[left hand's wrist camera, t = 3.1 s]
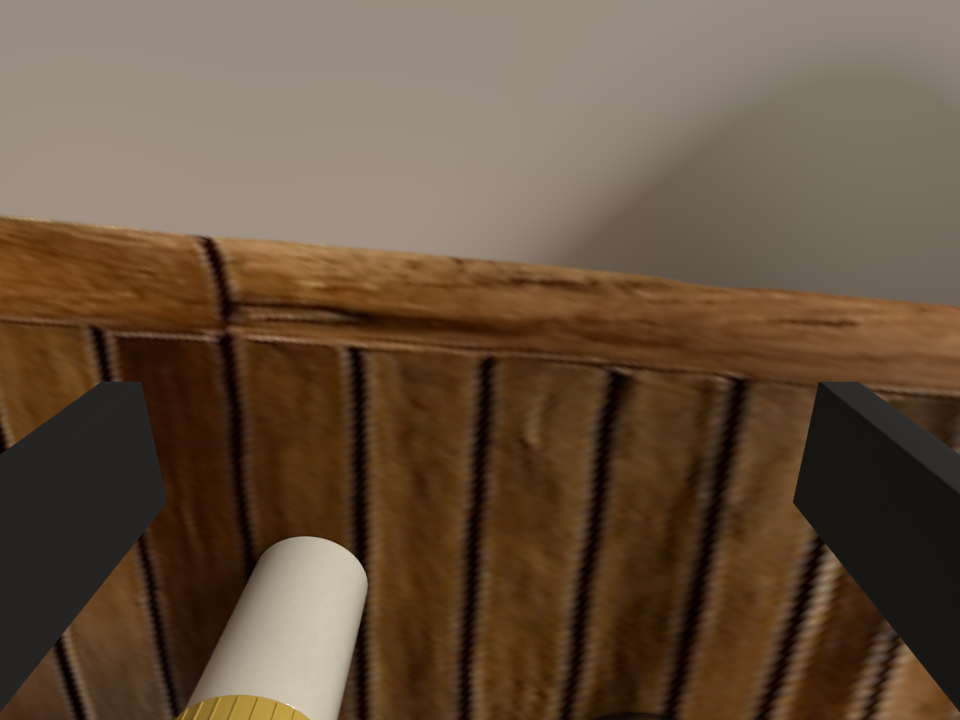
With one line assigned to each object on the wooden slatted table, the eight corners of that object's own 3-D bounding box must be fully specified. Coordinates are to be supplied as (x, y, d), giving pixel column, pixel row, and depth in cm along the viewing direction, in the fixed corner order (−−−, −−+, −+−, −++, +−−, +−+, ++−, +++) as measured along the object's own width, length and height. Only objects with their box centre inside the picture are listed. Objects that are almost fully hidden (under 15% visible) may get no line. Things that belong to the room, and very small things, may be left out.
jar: (254, 529, 47) (149, 723, 32) (371, 542, 47) (322, 739, 33) (253, 620, 50) (158, 834, 35) (363, 631, 51) (315, 848, 36)
